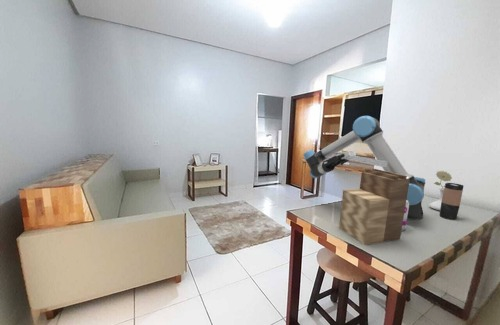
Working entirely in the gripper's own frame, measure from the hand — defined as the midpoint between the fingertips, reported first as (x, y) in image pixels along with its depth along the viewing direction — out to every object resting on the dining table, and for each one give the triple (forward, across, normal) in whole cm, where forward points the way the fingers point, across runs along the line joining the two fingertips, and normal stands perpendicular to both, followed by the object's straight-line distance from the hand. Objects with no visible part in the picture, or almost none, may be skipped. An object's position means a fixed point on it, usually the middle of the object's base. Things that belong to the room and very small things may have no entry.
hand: (351, 152), depth 113 cm
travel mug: (-4, -59, -40) cm, 71 cm away
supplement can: (-2, -14, -41) cm, 43 cm away
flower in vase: (-13, -69, -34) cm, 78 cm away
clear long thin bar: (+3, 0, -6) cm, 7 cm away
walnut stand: (0, +4, -42) cm, 42 cm away
